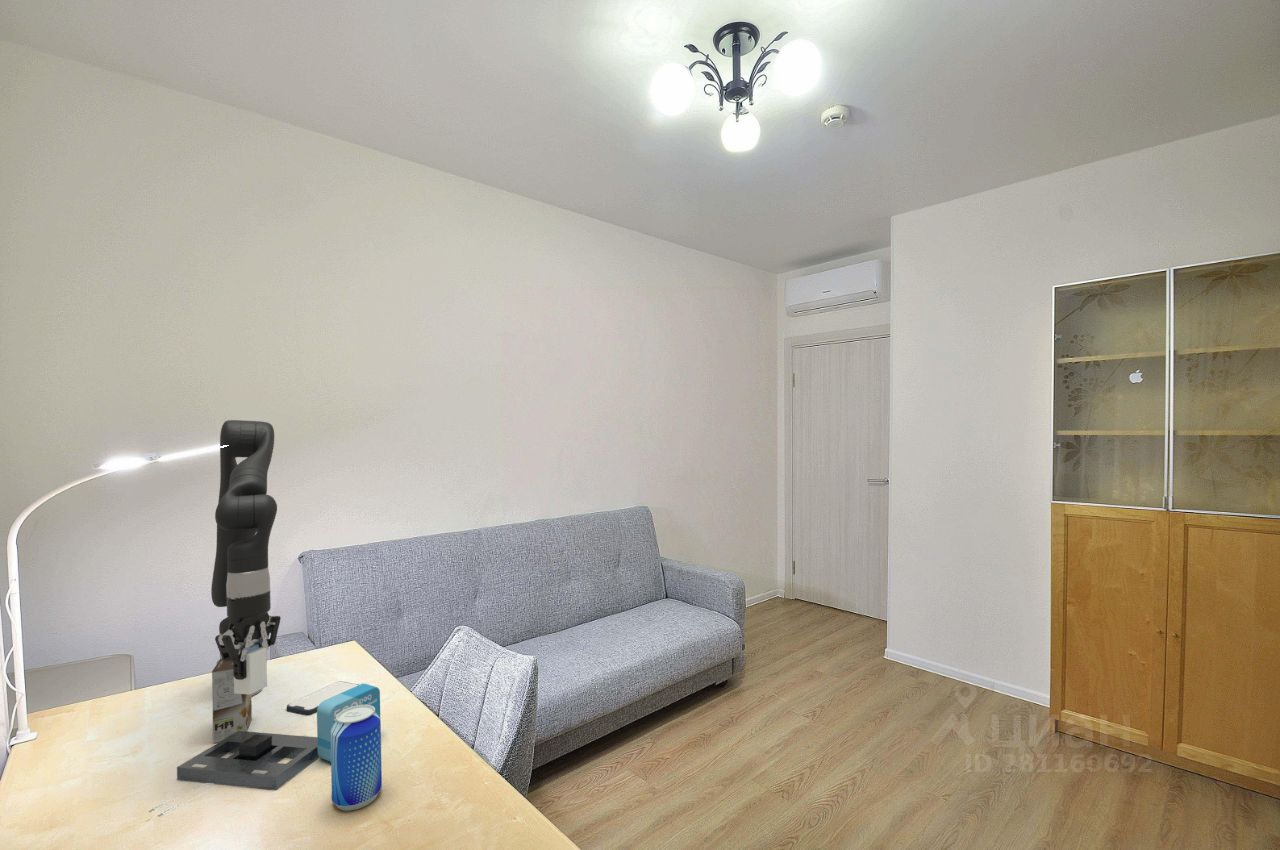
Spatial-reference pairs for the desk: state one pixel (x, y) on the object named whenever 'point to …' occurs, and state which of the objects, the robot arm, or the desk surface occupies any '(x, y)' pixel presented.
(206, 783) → the electronic cable
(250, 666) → the plug
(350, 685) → the phone case
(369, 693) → the teal rounded box
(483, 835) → the desk surface
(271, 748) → the panel
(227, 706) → the coffee box
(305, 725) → the desk surface
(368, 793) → the beer can
